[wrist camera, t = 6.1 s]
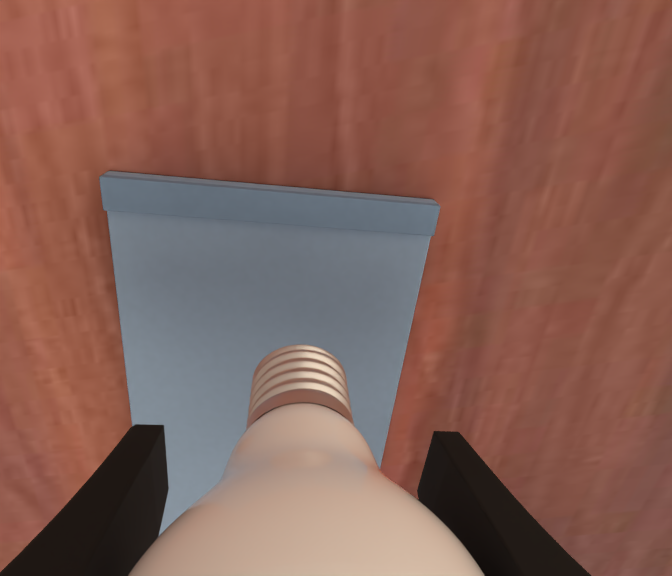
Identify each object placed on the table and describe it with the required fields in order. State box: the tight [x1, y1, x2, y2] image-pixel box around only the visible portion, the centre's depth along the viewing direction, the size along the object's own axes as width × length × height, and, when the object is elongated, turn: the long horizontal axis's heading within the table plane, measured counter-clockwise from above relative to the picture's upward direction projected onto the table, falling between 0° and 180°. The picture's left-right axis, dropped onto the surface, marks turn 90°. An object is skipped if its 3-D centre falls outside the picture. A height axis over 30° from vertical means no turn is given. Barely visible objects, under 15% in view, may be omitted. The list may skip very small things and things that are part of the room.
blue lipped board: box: [99, 171, 440, 537], centre depth 21 cm, size 20×12×1 cm, turn 173°
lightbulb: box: [128, 345, 485, 576], centre depth 9 cm, size 6×6×11 cm
